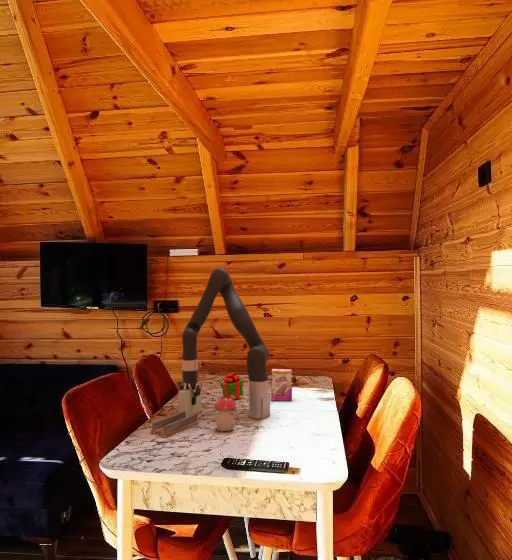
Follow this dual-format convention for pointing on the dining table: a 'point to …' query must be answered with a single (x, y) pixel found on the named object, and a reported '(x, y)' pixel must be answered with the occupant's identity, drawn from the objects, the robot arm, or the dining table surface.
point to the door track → (174, 424)
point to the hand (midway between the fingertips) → (190, 403)
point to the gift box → (232, 386)
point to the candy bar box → (281, 385)
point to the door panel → (188, 402)
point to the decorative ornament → (225, 413)
